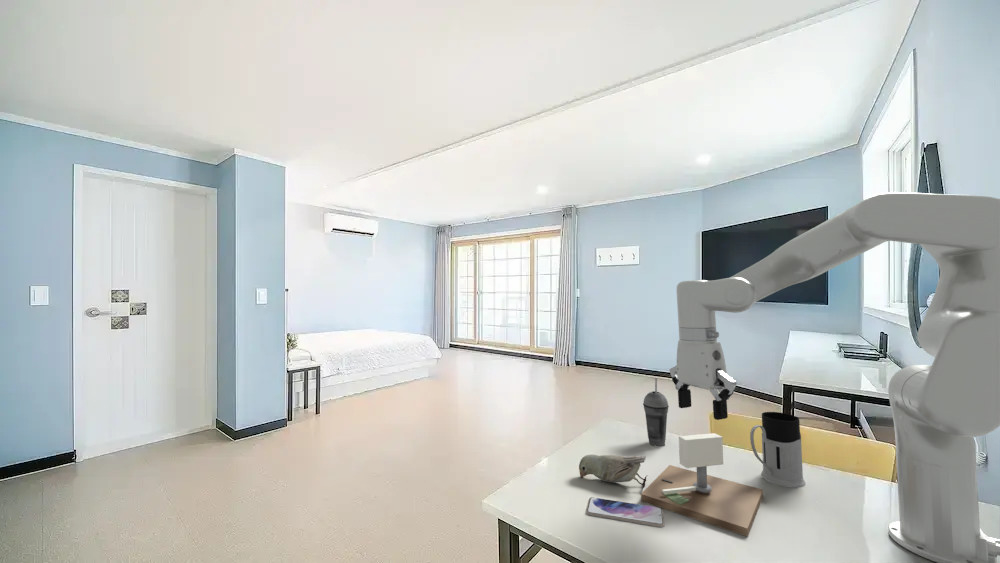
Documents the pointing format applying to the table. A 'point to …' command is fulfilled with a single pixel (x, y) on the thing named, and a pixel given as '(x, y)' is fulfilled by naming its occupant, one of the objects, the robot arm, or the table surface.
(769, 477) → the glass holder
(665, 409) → the beverage cup
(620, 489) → the table surface
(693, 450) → the stand
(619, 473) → the decorative bird
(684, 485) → the brown wooden flat slab
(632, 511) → the smartphone
